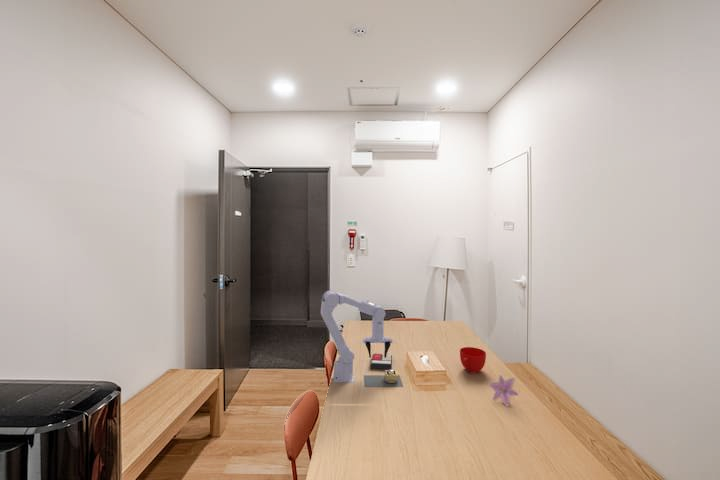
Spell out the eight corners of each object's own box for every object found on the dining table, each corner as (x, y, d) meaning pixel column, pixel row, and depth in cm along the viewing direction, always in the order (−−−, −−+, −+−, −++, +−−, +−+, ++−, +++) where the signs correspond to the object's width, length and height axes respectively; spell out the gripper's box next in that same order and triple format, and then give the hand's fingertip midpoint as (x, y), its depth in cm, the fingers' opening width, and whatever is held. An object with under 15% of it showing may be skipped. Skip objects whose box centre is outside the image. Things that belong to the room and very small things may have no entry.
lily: (485, 394, 145) (482, 379, 141) (508, 382, 147) (505, 368, 143) (503, 416, 134) (500, 401, 131) (527, 403, 136) (525, 388, 132)
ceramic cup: (451, 372, 164) (451, 353, 164) (466, 363, 177) (466, 345, 177) (476, 381, 156) (476, 360, 155) (489, 370, 168) (490, 351, 168)
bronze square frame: (386, 381, 151) (386, 375, 151) (384, 376, 157) (384, 370, 157) (397, 381, 151) (397, 375, 151) (396, 376, 157) (396, 370, 157)
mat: (364, 388, 148) (364, 387, 148) (363, 376, 160) (363, 375, 160) (403, 387, 148) (403, 386, 148) (399, 376, 160) (399, 375, 160)
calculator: (392, 353, 181) (391, 363, 166) (392, 361, 181) (391, 371, 166) (372, 352, 182) (370, 362, 167) (372, 360, 182) (370, 370, 167)
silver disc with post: (385, 384, 151) (385, 373, 151) (383, 377, 157) (383, 367, 157) (398, 383, 151) (398, 373, 151) (396, 377, 157) (396, 367, 157)
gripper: (363, 332, 156) (363, 360, 156) (393, 332, 156) (393, 360, 157) (363, 328, 163) (362, 354, 163) (391, 328, 163) (391, 354, 164)
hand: (377, 356), depth 161 cm, fingers open, 7 cm apart
